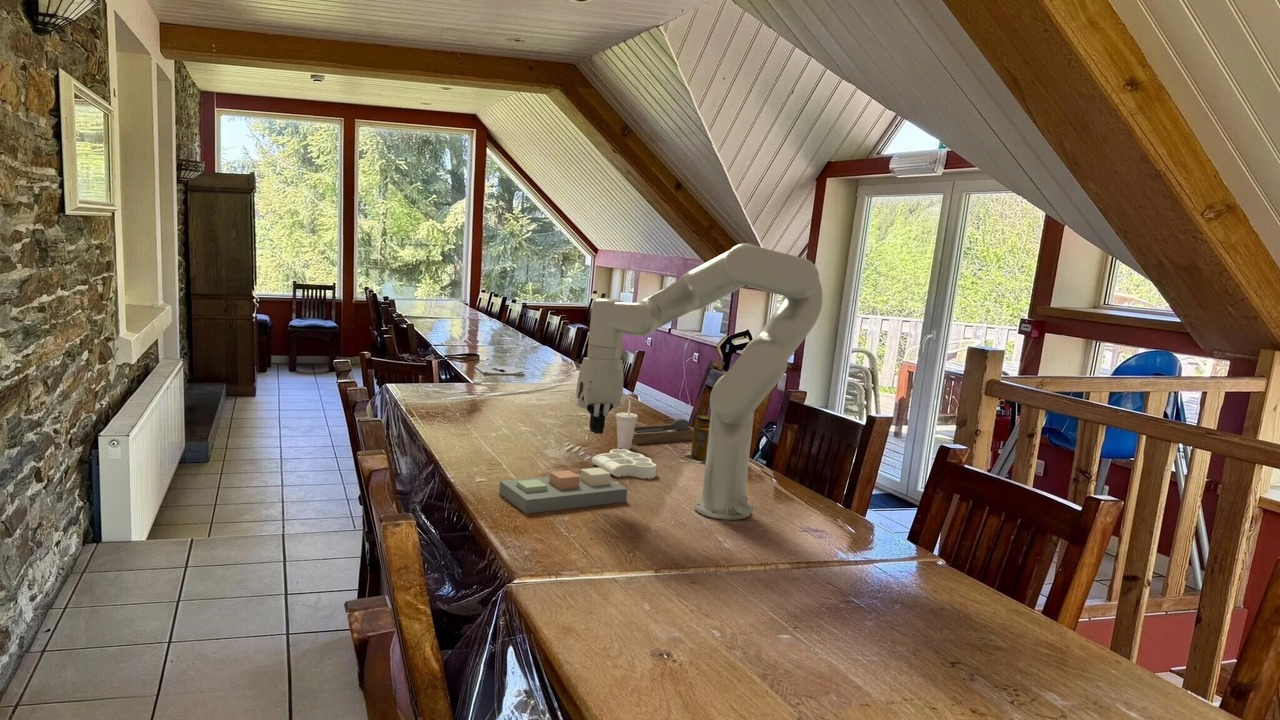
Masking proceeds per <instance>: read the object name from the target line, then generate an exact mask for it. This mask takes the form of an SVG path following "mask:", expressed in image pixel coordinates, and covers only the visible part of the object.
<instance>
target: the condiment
mask: <svg viewBox="0 0 1280 720" xmlns="http://www.w3.org/2000/svg"><path fill="white" fill-rule="evenodd" d="M710 417H711V415H705V414H700V415H696V417H695V423H694V426H693V428H694V431H693V440H691V441H692V442H691V444H692V445H691V451H690V452H691V453H690V454H686V455H680V456H679V457H680V458H682V459H685V460H688V461H690V462H693V463H697V464H701V463H706V454H707V444H708V435H709V426H710Z"/></svg>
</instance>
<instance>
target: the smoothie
mask: <svg viewBox="0 0 1280 720" xmlns="http://www.w3.org/2000/svg"><path fill="white" fill-rule="evenodd" d="M631 403H632V400H631V399H629V400H628V406H627V407H628V408H627V412H623V411H622V412H617V413H615V418H616V437H617V441H616V442H617V449H620V448H621V449H626V450H630V449H631V448H632V444H633V443H632V439H633V434H634V429H635V426H636V423H637V420H638V417H639V416H638V414H636V413H632V412H631V406H632V405H631Z"/></svg>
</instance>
